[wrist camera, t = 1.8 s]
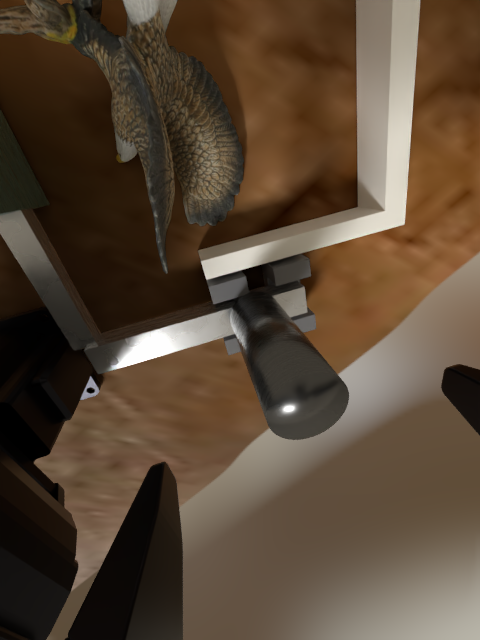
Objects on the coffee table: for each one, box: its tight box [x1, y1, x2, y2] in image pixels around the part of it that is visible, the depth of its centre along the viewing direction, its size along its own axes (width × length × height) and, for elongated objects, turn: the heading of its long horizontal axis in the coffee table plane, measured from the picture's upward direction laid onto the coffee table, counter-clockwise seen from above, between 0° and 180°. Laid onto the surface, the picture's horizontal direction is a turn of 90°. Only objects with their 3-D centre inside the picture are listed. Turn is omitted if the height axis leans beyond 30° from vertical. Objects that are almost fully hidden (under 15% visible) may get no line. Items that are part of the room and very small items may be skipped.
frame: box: [198, 0, 420, 280], centre depth 12 cm, size 11×15×2 cm
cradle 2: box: [261, 254, 316, 333], centre depth 17 cm, size 2×5×3 cm, turn 13°
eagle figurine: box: [0, 0, 244, 273], centre depth 11 cm, size 8×7×9 cm
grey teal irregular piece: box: [0, 109, 349, 440], centre depth 10 cm, size 13×14×10 cm
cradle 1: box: [207, 270, 249, 355], centre depth 16 cm, size 2×5×3 cm, turn 13°
